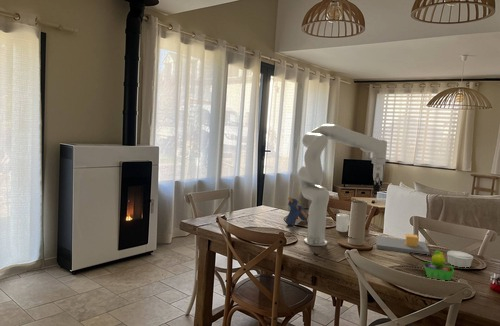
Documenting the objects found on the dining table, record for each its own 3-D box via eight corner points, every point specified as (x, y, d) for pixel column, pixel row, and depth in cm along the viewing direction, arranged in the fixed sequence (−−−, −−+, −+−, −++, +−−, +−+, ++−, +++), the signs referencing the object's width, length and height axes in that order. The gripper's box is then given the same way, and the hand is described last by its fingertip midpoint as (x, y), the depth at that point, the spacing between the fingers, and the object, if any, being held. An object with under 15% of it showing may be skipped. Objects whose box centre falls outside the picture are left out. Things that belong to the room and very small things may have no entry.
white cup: (339, 228, 237) (340, 212, 236) (350, 231, 231) (351, 215, 230) (332, 230, 231) (334, 214, 230) (343, 233, 226) (345, 217, 225)
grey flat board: (429, 255, 192) (429, 251, 192) (376, 248, 200) (376, 244, 199) (424, 245, 209) (424, 241, 209) (375, 239, 217) (376, 235, 217)
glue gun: (303, 237, 248) (310, 217, 254) (288, 217, 225) (296, 196, 231) (295, 234, 251) (302, 215, 257) (279, 215, 228) (288, 194, 234)
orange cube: (417, 246, 199) (418, 237, 199) (406, 245, 201) (406, 236, 200) (416, 243, 205) (416, 234, 204) (405, 242, 206) (405, 233, 206)
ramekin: (461, 270, 173) (462, 259, 173) (440, 262, 184) (441, 251, 183) (477, 267, 178) (478, 257, 177) (456, 259, 188) (457, 249, 188)
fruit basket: (424, 278, 162) (426, 253, 161) (422, 271, 170) (424, 247, 169) (453, 283, 158) (456, 257, 157) (450, 276, 166) (453, 251, 165)
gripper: (386, 162, 206) (383, 193, 208) (384, 160, 223) (382, 188, 224) (372, 161, 208) (369, 191, 210) (371, 159, 225) (369, 187, 227)
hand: (376, 190), depth 217 cm, fingers open, 9 cm apart
